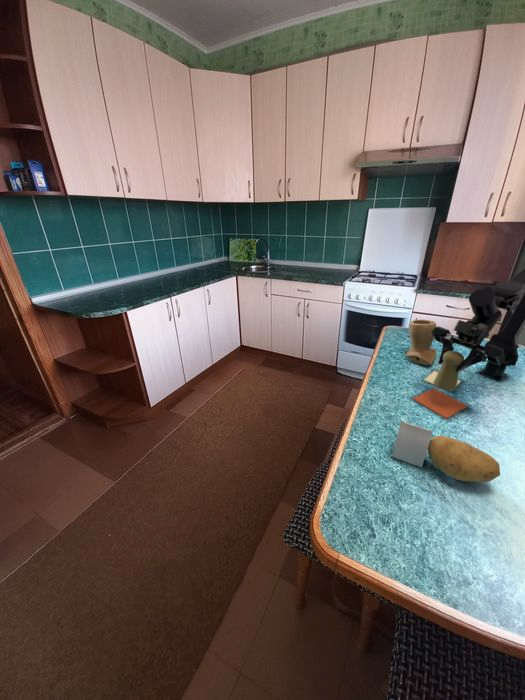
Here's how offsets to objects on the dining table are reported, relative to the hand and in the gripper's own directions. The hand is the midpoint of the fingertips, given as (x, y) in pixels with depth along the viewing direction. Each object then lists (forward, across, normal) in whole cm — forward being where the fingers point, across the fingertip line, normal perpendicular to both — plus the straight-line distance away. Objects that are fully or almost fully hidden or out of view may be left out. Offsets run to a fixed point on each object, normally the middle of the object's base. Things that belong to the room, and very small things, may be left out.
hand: (447, 367), depth 85 cm
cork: (+4, 0, +6) cm, 7 cm away
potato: (+24, +18, -5) cm, 30 cm away
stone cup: (-6, -22, +26) cm, 35 cm away
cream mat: (0, -7, +19) cm, 20 cm away
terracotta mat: (+9, 0, +10) cm, 13 cm away
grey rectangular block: (+28, +9, -9) cm, 31 cm away
